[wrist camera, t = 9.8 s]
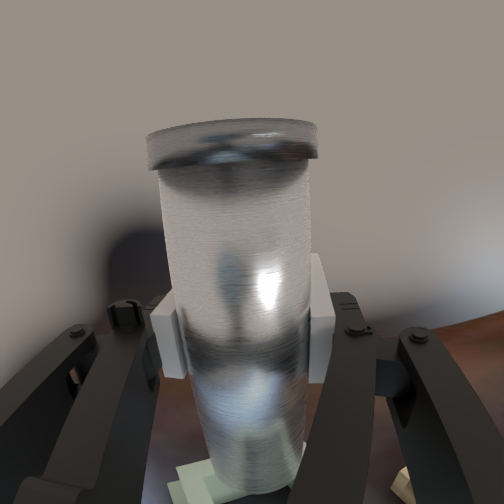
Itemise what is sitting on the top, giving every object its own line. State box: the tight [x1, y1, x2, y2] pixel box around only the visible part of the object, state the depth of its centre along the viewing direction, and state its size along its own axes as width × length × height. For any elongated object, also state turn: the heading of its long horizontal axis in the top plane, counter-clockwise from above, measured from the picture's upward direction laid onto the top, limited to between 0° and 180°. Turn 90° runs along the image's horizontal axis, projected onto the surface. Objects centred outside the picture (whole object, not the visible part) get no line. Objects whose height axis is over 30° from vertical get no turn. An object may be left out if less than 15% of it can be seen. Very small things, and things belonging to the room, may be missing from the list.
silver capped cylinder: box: [145, 118, 318, 494], centre depth 11 cm, size 5×5×15 cm
